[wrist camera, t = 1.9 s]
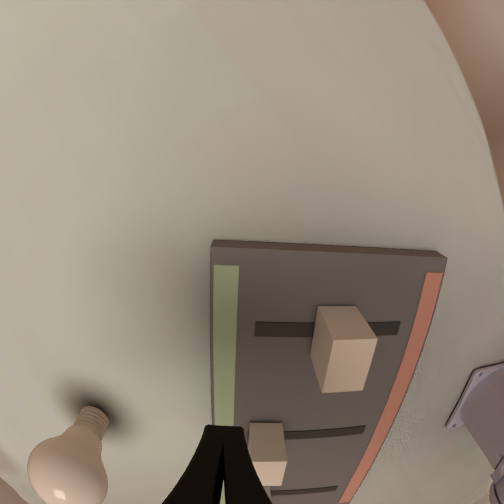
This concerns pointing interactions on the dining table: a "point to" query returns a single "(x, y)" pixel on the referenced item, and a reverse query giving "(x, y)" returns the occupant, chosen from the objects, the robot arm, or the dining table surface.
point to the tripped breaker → (341, 348)
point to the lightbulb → (72, 462)
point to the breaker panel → (299, 347)
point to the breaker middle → (268, 452)
